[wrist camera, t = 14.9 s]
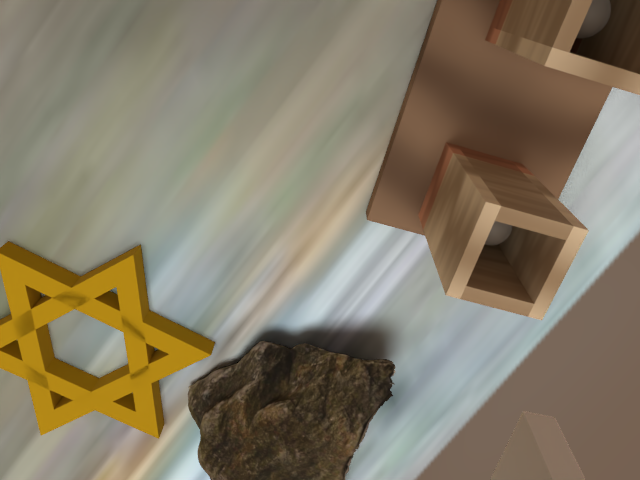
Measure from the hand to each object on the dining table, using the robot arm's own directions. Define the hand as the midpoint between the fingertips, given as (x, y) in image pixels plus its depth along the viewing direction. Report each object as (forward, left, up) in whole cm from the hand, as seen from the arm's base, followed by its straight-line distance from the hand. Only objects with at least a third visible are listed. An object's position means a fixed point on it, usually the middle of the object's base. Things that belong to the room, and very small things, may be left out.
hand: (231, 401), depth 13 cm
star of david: (+22, -12, -29) cm, 38 cm away
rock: (+23, +5, -29) cm, 37 cm away
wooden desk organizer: (-5, +12, -28) cm, 31 cm away
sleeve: (-11, +12, -27) cm, 32 cm away
